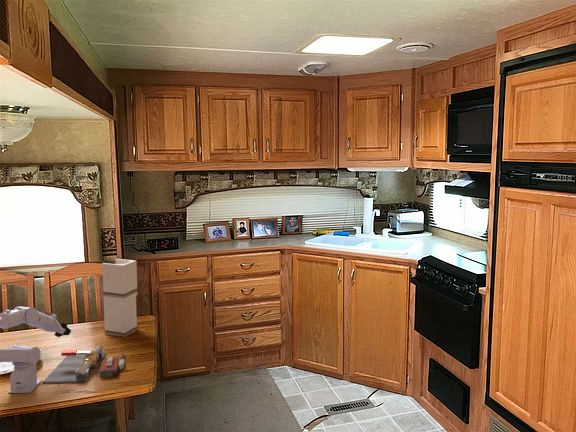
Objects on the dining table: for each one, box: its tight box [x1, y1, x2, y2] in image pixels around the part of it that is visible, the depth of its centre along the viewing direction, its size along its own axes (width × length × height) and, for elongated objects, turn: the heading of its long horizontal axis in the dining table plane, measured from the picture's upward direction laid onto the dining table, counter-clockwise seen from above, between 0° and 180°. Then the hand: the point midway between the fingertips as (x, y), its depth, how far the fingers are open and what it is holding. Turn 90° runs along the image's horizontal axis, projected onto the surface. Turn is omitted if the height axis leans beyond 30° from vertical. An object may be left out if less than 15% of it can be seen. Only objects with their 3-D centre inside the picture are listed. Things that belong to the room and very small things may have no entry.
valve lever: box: [60, 349, 94, 357], centre depth 194 cm, size 12×3×1 cm, turn 93°
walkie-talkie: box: [99, 352, 126, 379], centre depth 196 cm, size 9×4×20 cm
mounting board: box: [42, 352, 107, 384], centre depth 194 cm, size 26×16×1 cm, turn 3°
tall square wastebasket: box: [101, 258, 139, 338], centre depth 231 cm, size 11×11×35 cm
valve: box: [76, 345, 105, 378], centre depth 194 cm, size 22×4×5 cm, turn 3°
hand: (63, 328), depth 196 cm, fingers open, 7 cm apart
